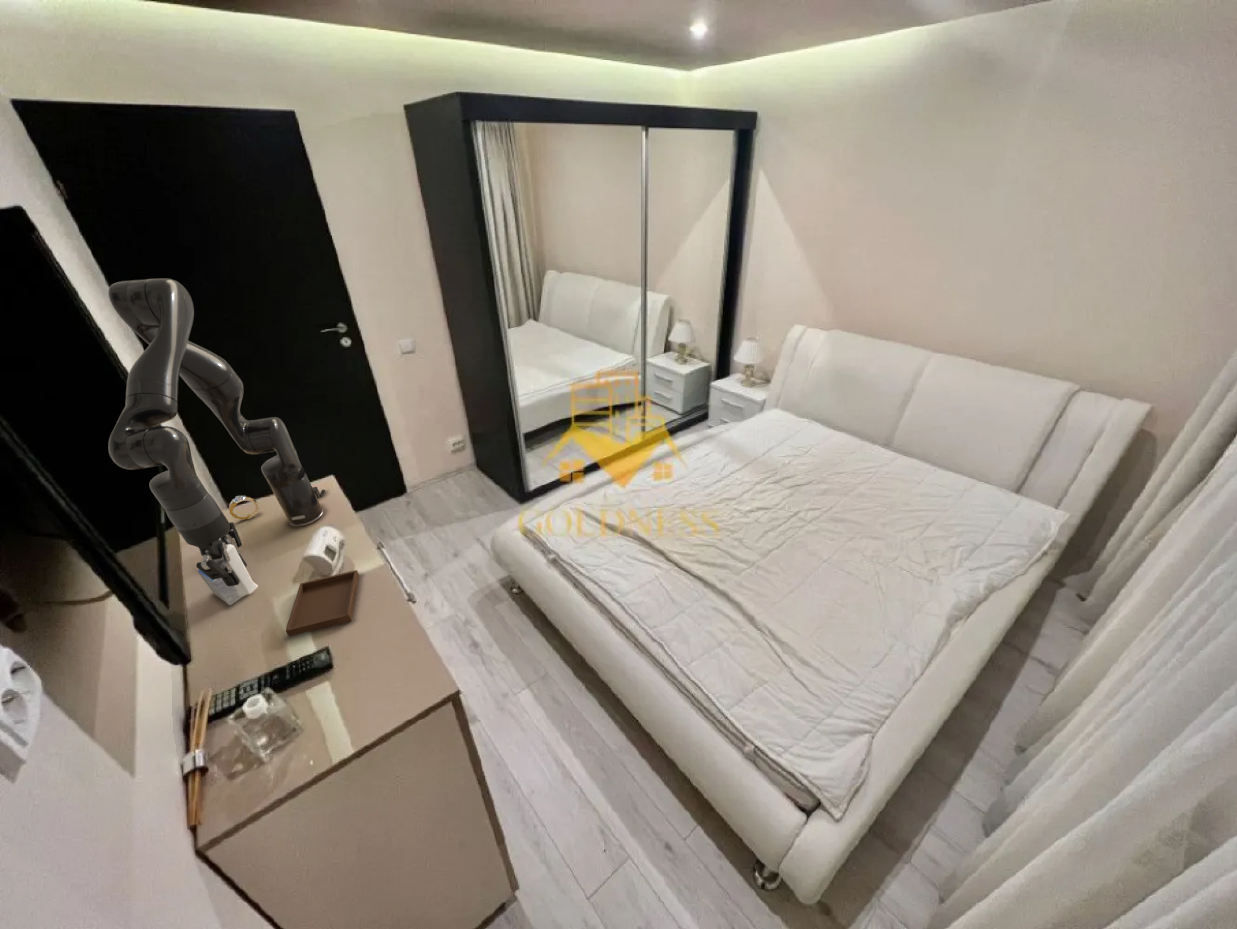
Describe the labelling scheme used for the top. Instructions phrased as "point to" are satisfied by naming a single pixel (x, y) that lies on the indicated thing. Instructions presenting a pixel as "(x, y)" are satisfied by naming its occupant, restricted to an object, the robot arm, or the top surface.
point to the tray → (323, 603)
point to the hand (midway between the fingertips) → (238, 575)
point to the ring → (239, 499)
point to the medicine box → (221, 589)
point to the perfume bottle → (239, 572)
